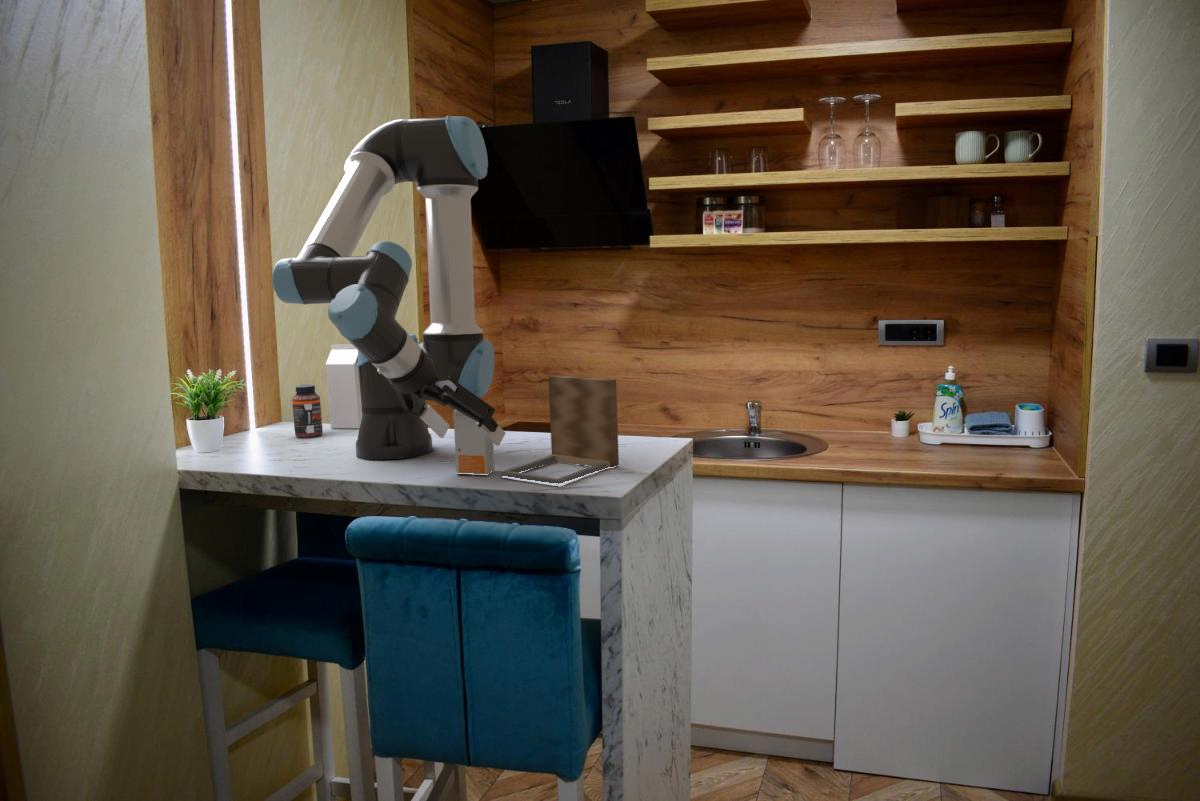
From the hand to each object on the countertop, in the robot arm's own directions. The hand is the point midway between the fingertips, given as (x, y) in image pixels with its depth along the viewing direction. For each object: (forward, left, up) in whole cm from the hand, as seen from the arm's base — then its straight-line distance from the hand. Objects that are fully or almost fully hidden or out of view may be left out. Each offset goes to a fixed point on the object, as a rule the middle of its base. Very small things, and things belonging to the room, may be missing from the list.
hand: (472, 435), depth 167 cm
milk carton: (-57, +20, -7) cm, 61 cm away
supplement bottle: (-57, +8, -7) cm, 58 cm away
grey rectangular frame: (+13, +8, -7) cm, 16 cm away
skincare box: (0, +1, -7) cm, 7 cm away
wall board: (+13, +16, -7) cm, 22 cm away
